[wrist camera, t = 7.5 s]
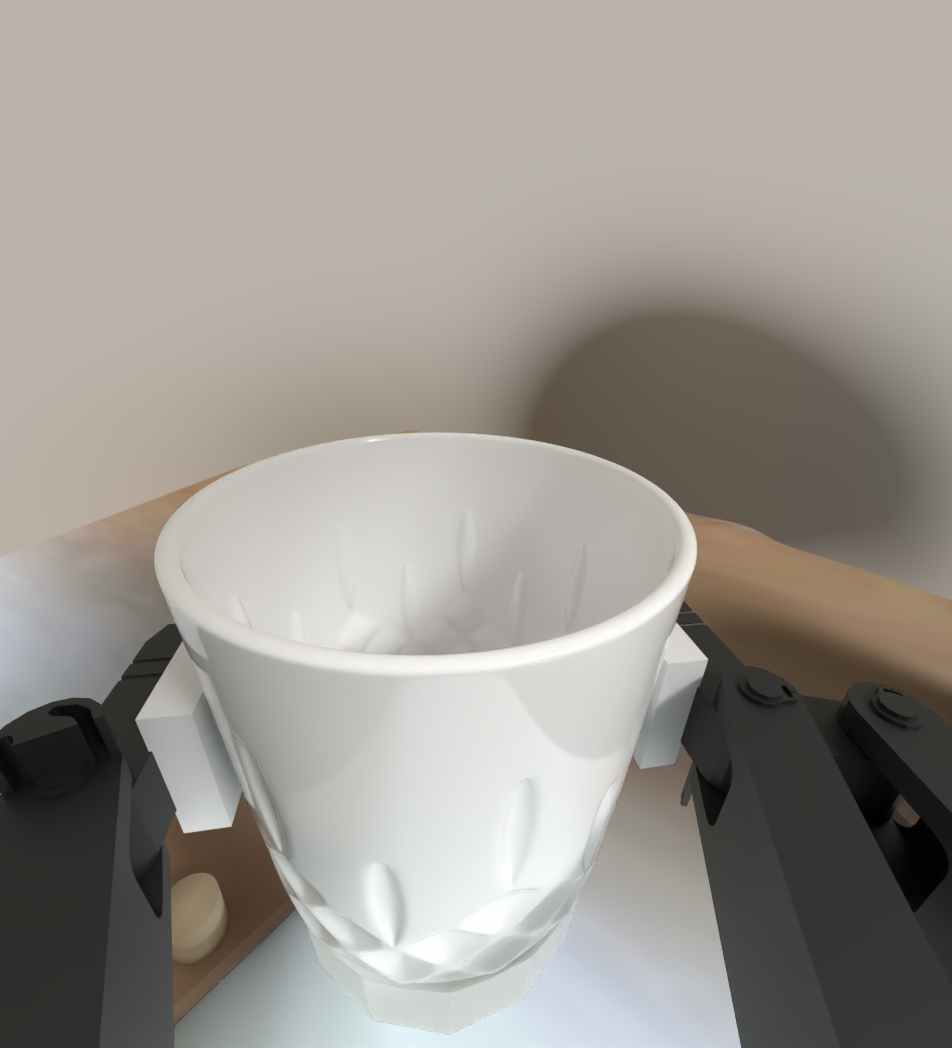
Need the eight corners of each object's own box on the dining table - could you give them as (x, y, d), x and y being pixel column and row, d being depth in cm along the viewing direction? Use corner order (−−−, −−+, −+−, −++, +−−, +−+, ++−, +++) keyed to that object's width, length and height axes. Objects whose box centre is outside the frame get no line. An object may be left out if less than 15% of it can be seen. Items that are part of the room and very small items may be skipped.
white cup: (208, 902, 11) (41, 520, 6) (420, 690, 17) (408, 415, 12) (497, 1231, 7) (569, 857, 3) (638, 809, 13) (732, 476, 9)
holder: (194, 736, 27) (182, 698, 26) (308, 896, 20) (299, 855, 19) (-310, 1030, 16) (-378, 989, 14) (-449, 1619, 9) (-602, 1643, 8)
